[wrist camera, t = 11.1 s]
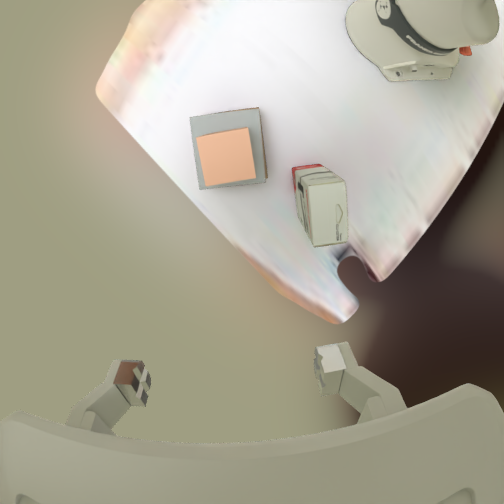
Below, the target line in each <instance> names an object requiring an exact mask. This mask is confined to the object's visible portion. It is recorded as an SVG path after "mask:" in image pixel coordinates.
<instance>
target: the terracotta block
mask: <svg viewBox="0 0 504 504" xmlns="http://www.w3.org/2000/svg"><path fill="white" fill-rule="evenodd" d="M196 140H197V145H198V151H199V156H200V161H201V166H202V171H203V176H204V180H205V185H206V186H212V185H217V184H223V183H229V182H234V181H240V180H247V179H253V178H256V174H255V168H254V161H253V155H252V149H251V142H250V136H249V130H248V127H243V128H237V129H231V130H225V131H220V132H215V133H209V134H204V135H202V136H199V137H196Z"/></svg>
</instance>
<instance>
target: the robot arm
mask: <svg viewBox="0 0 504 504" xmlns="http://www.w3.org/2000/svg"><path fill="white" fill-rule="evenodd" d="M346 28H347V31H348V34H349V36H350V38H351V40H352V42H353V43H354V45H355V46H356V48H357V49H358V50H359V51H360V52H361V53H362V54H363V55H364V56H365V57H366V58H367V59H369V60H370V61H371V62H373V63H374V64H375V65H377V66H378V67H379V69H380V70H381V72H382V73H383V75H384V76H385V77H386V78H387V79H388V80H389V81H392V82H394V81H408V80H438V79H449V78H450V76H451V73H452V69H453V67H455V66H456V65H457V64H458V62H459V52H460V54H462V55H467V56H470V55H472V52H471V49H470V46H474V45H484V44H487V43H489V42H491V41H492V40H493V39H494V38H495V37H496V35H497V33H498V31H499V15H498V10H497V7H496V4H495V1H494V0H357V1H355V2H354V3H353V4H351V6H350V7H349V8H348V10H347V13H346ZM396 72H397V73H398V76H397V74H396ZM315 356H316V358H315V359H314V371H315V376H316V378H317V379H318V380H319V381H318V387H319V391H320V394H321V396H325V395H331V394H337V393H339V395H340V396H342V397H343V398H344V399H345V400H346V401H347V402H348V403H349V404H351V405H352V406H353V407H354V408H355V409H356V410H357V411H359V412H360V413H361V416H360V418H359V421H358V423H357V424H356V425H353V426H349V427H344V428H341V429H336V430H331V431H326V432H321V433H316V434H310V435H305V436H299V437H292V438H284V439H276V440H268V441H255V442H242V443H241V442H240V443H212V444H211V443H175V442H161V441H150V440H141V439H133V438H126V437H120V436H117V435H116V434H115V433H114V432H113V431H112V430H111V429H112V427H113V426H114V425H115V424H116V423H117V422H118V421H119V419H120V418H121V417H122V416H123V415H124V414H125V413H126V412H127V410H128V409H129V408H130V407H131V406H145V407H146V403H147V398H148V395H147V393H146V392H147V391H148V390H149V389H150V386H151V378H150V374H149V372H148V371H147V370H145V369H144V366H145V365H144V363H143V362H142V361H138V360H118V359H115V360H113V361H112V363H111V366H110V369H109V371H108V374H107V376H106V379H105V381H104V383H101V384H100V385H98V386H97V387H96V388H95V389H94V390H92V391H91V392H90V393H89V394H87V395H86V396H85V397H84V398H82V399H81V400H80V401H79V402H78V403H76V404H75V405H74V406H73V407H72V409H71V412H70V414H69V417H68V419H67V422H66V424H65V425H64V424H61V423H57V422H53V421H50V420H47V419H44V418H41V417H38V416H35V415H32V414H29V413H27V412H24V411H21V410H17V411H15V412H13V413H11V414H10V415H8V416H7V417H5V418H4V419H3V420H1V421H0V504H504V413H503V411H502V409H501V407H500V405H499V404H498V402H497V400H496V399H495V397H494V396H493V395H492V394H491V393H490V392H488V391H486V390H484V389H482V388H480V387H478V386H475V385H473V384H464V385H462V386H460V387H458V388H455V389H453V390H451V391H449V392H447V393H445V394H443V395H440V396H438V397H436V398H433V399H431V400H429V401H426V402H424V403H421V404H419V405H416V406H413V407H411V408H408V409H407V407H406V405H405V403H404V401H403V399H402V396H401V394H400V392H399V390H398V389H397V388H396V387H394V386H392V385H391V384H389V383H387V382H386V381H384V380H382V379H381V378H380V377H378V376H376V375H374V374H373V373H372V372H370V371H368V370H367V369H365V368H363V367H362V366H358V364H357V362H356V359H355V357H354V355H353V353H352V350H351V348H350V346H349V344H348V342H342V343H338V344H332V345H326V346H321V347H316V348H315Z"/></svg>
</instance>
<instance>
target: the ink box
mask: <svg viewBox="0 0 504 504" xmlns="http://www.w3.org/2000/svg"><path fill="white" fill-rule="evenodd" d="M292 174H293V182H294V190H295V198H296V206H297V214H298V217H299V219H300V221H301V223H302V225H303V227H304V229H305V231H306V233H307V235H308V237H309V239H310V241H311V243H312V245H313V247H321V246H329V245H336V244H342V243H346V242H347V239H348V219H347V217H348V211H347V194H346V185H345V181H344V180H343V179H341V178H340V177H338V176H337V175H335V174H334V173H333V172H331V171H330V170H328V169H327V168H325V167H324V166H322V165H321V164H314V165H306V166H299V167H293V168H292Z"/></svg>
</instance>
